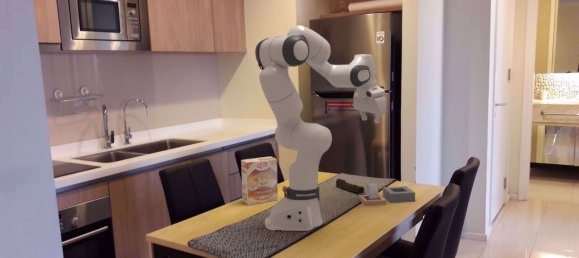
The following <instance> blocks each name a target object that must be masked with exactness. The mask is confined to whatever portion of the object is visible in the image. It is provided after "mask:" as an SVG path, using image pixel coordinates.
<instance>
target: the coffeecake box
mask: <svg viewBox="0 0 579 258" xmlns="http://www.w3.org/2000/svg"><path fill="white" fill-rule="evenodd" d="M240 164H241V191H242V193H241V195H242V196H241V197H242V202H243V203H245V204H246V205H247V206H251V205H253V206H254V205H257V204H263V203H268V202H275V201H279V194H278V193H279V192H278V160H277V157H273V156H271V155H270V156H264V157H256V158H255V157H254V158H246V159H241V160H240Z"/></svg>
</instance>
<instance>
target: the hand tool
mask: <svg viewBox="0 0 579 258" xmlns="http://www.w3.org/2000/svg"><path fill="white" fill-rule="evenodd" d="M335 186H336V188H338V187H339V188H338V189H340V188H343V189H342V190H347V191H350V192H353V193H355V194H357V195H358V194H361V193H363V194H364V193H365V187H364V186H362V185H361V186H360V185H357V184H352V183H350V182H347V181H346V180H345V179H342V178H337V179H336V180H335ZM361 195H362V194H361Z"/></svg>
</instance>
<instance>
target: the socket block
mask: <svg viewBox="0 0 579 258" xmlns="http://www.w3.org/2000/svg"><path fill="white" fill-rule="evenodd" d="M382 197H383V198H384V199H385V200H386V201H388V202H389V203H391V204H394V203H408V202H409V203H410V202H415V201H416V192H415V191H414V190H412V189H410V188H409V187H408V186H407V185H405V186H401V185H400V186H387V187H382Z"/></svg>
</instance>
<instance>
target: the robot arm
mask: <svg viewBox="0 0 579 258" xmlns="http://www.w3.org/2000/svg"><path fill="white" fill-rule="evenodd" d="M331 51H332V50H331V45H330V43H329V42H328V40H327V39H325V38H324V37H323V36H321V35H320V34H319V33H318V32H316V31H314V30H313V29H311V28H309V27H307V26H304V25H302V24H301V25H300V24H297V25H294V26H292V27H291V28H290V29H289V30H288V31H287V34H286V35H284V36H283V35H278V36H273V37H268V38H264V39H262V40H261V41H259V42H258V43H257V44H256V46H255V49H254V53H255V59H256V62H257V66H258V68H260V70H261V72H260V73H259V75H258V77H259V78H258V79H259V83H260V86H261V90H262V92H263V94H264V97H265V99H266V100H267V103H268V105H269V107H270V109H271V111H272V113H273V115H274V117H275V120H276V125H277V126H276V129H275V131H274V139H275V141H276V143H277V144H278V145H279V146H281V147H283V148H285V149H287V150H290V151H291V150H292V151H297V153H296V158H295V161H293V162H292V163H291V164H290V165H289V167H288V185H289V186H285V185H283V186H282V190H281V191H282V192H283V195H284V196H283V197H281V199H279V200H277V202H275V203H274V204H273V206H272V207H271V210H270V213H269V216H268V217H266V218H265V219H264V226H265V228H266V229H267V230H269V231H276V230H278V231H279V230H281V232H282V231H286V232H287V231H288V232H289V231H293V232H294V231H295V232H297V231H298V232H299V231H301V232H305V231H306V232H309V231H311V230H313V229H315V228H316V227H320V226H321V225H323V223H324V220H323V217H322V213H321V212H322V211H321V208H320V198H321V196H320V186H319V165H320V162H321V160H322V159H321V158H322V157H323V155H324V153H326V152H327V151H328V150H329V149H330V147H331V145H332V141H333V136H332V133H331V130H330V129H329V128H328V127H327V126H324V125H321V124H319V123H313V122H305V121H304V120H303V119H302V118H301V113H302V111H303V109H304V103H303V101H302V99H301V97H300V95H299V93H298V90H297V89H296V87H295V84H294V83H293V81H292V79H291V78H290V75H289V68H292V67H295V68H296V67H298V66H302V65H303V64H304V63H306V64H307V65H308V66H309V67H310V68H311V69H312V70H313V71H315V73H317V74H318V75H319V76H320V77H321V78H323V80H324V82H325V83H326V84H327V86H328V87H330V88H331V89H341V88H350V89H351V88H353V89H354V88H356V89H355V90H354V92H353V93H354V94H353V108H354V110H356V111H359V114H360V116H361V120H362V121H367V120H368V115H366V113H370V114H373V115H374V119H373V121H374V122H373V123H374V124H380V120H381V119H380V118H381V115H383V114H384V115H385V114H386V112H387V102H386V101H387V100H386V97H385V95H386V91H385V90H384V88H382V87H380V85H378V81H377V79H376V74H377V71H376V64H375V59H374V56H373V54H371V53H366V52H365V53H356V54H354V56H353V58H354V59H352V61H351V62H350V63H349V64H331V63H329V62H328V60H329V58H330V56H331ZM278 231H277V232H278Z"/></svg>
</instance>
